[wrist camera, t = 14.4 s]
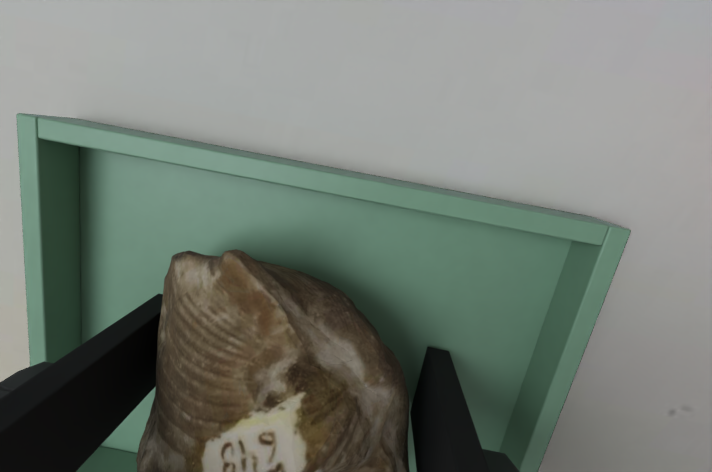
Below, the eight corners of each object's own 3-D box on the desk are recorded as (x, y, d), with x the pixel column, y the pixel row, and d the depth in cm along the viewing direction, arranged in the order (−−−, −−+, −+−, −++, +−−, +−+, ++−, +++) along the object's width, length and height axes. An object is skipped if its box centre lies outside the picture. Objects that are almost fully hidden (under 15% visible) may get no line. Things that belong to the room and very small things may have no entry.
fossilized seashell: (475, 513, 11) (392, 196, 10) (338, 842, 6) (162, 246, 5) (308, 459, 16) (246, 238, 15) (150, 615, 10) (48, 287, 10)
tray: (591, 216, 11) (632, 230, 10) (481, 525, 15) (496, 579, 13) (71, 117, 12) (14, 112, 10) (77, 442, 15) (35, 484, 13)
